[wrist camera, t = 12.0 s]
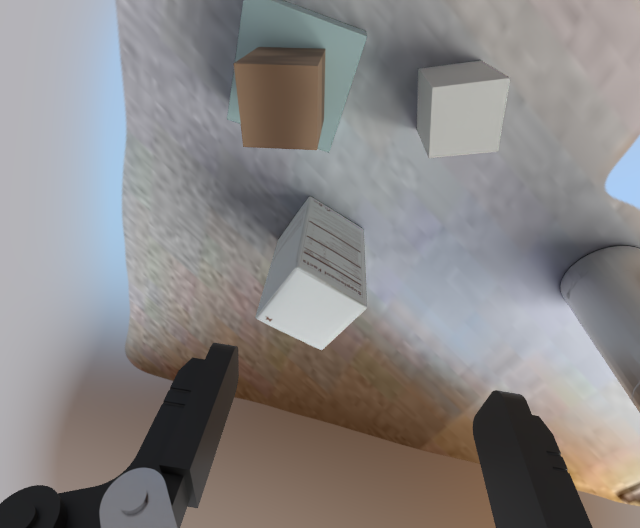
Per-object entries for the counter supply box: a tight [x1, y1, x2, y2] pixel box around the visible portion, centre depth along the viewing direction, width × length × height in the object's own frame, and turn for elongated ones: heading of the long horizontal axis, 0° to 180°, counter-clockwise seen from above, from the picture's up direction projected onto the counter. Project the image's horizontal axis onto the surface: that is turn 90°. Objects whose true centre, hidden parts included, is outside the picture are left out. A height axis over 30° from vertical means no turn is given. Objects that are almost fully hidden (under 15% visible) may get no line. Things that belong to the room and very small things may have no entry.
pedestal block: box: [227, 0, 367, 153], centre depth 30 cm, size 9×9×4 cm
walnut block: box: [234, 47, 326, 150], centre depth 26 cm, size 5×5×7 cm
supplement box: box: [256, 196, 367, 350], centre depth 36 cm, size 7×7×13 cm
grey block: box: [417, 60, 510, 158], centre depth 29 cm, size 5×5×7 cm
